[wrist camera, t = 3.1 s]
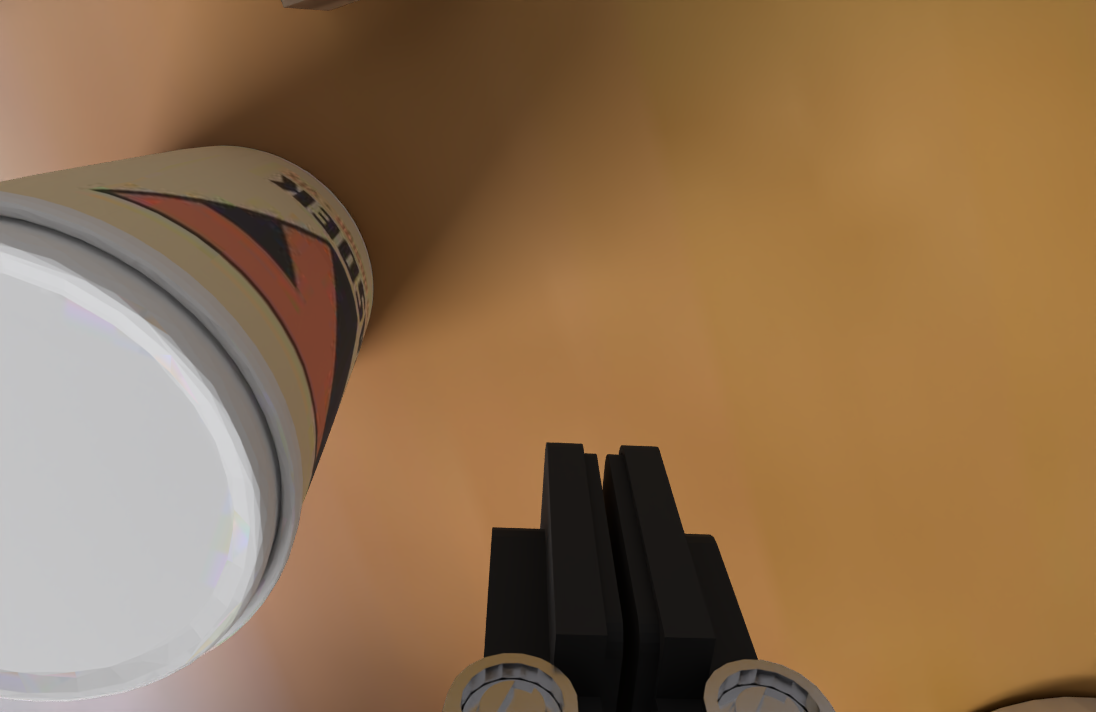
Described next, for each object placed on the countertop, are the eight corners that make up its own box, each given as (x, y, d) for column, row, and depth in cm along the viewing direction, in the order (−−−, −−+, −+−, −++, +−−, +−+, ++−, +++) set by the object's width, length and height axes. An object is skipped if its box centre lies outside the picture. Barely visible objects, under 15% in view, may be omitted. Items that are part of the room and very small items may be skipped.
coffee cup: (441, 381, 25) (361, 662, 14) (164, 443, 26) (-119, 758, 15) (342, 75, 22) (132, 129, 10) (26, 159, 22) (-481, 290, 11)
